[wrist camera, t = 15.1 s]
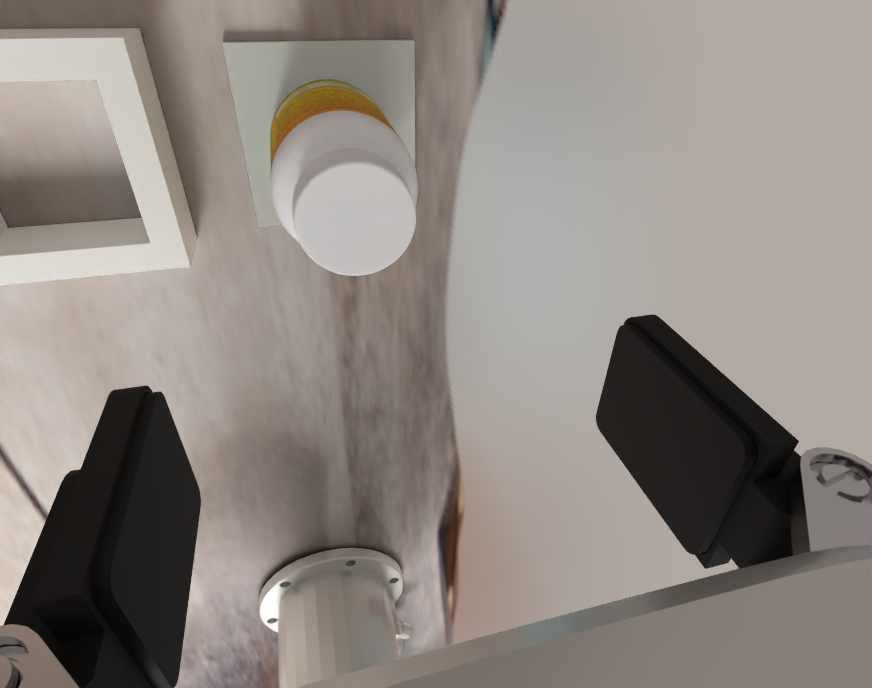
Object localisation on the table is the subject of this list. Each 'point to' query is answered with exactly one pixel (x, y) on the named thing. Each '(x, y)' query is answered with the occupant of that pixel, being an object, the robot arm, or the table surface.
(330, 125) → the supplement bottle
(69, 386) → the table surface
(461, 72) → the table surface
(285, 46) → the mat
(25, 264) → the collar
